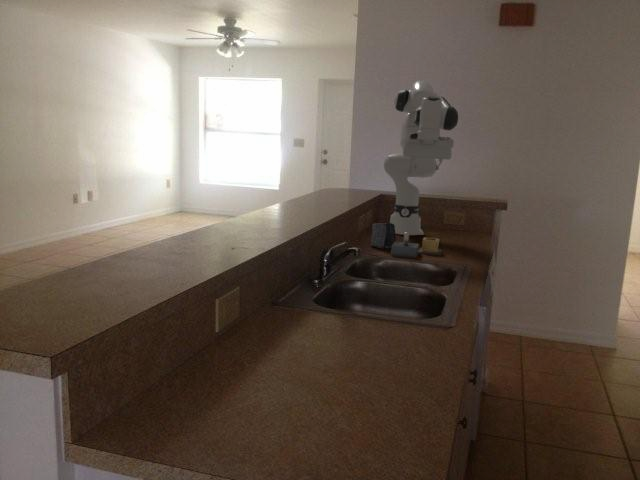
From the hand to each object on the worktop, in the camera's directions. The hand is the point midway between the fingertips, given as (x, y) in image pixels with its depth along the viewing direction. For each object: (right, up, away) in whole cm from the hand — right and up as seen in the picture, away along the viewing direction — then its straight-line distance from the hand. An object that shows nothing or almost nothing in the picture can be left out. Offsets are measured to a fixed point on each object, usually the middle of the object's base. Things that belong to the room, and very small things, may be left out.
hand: (425, 169), depth 243 cm
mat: (+1, -35, -3) cm, 36 cm away
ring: (+1, -35, -3) cm, 35 cm away
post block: (-11, -36, -10) cm, 39 cm away
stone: (-19, -34, +2) cm, 38 cm away
